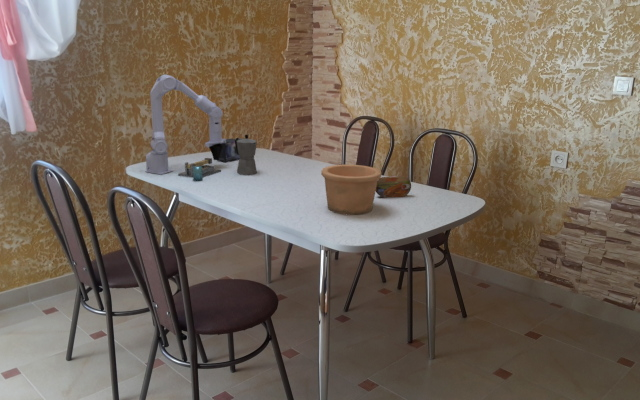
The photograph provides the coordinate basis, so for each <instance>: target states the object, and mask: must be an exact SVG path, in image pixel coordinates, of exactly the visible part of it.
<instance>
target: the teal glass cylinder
mask: <svg viewBox="0 0 640 400" xmlns="http://www.w3.org/2000/svg"><path fill="white" fill-rule="evenodd" d="M192 180H193V181H194V182H203V180H204V177H203V174H202V166H193V177H192Z"/></svg>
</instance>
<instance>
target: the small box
mask: <svg viewBox="0 0 640 400" xmlns="http://www.w3.org/2000/svg"><path fill="white" fill-rule="evenodd" d="M225 139H226V143H221V145H223V148H222V150H221V152H220V156H219V160H216V161H218V162H221V163H229V162H234V161H239V159H240V156H239V155H238V154H237V150H236V145H235V140H236V138H225Z"/></svg>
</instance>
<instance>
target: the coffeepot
mask: <svg viewBox="0 0 640 400" xmlns="http://www.w3.org/2000/svg"><path fill="white" fill-rule="evenodd" d="M244 137H245V138H241V137H236V138H235V139H236V140H235V145H236V150H237V154H238V155H239V156H240V159H239V160H238V164H237V170H236V173H237V175H241V176H254V175H256V174H257V173H258V171H257V164H256V160H255V156H256V151H257V144H258V141H257V140H255V139H252V138H249V134H244Z"/></svg>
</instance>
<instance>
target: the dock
mask: <svg viewBox="0 0 640 400" xmlns="http://www.w3.org/2000/svg"><path fill="white" fill-rule="evenodd" d="M194 163H195V162H192V163H190V164H191V169H188V168H187V165H189V162H187V161H186V162H184V171H182V172H179V173H178V176H180V177H186V178H193V166H194ZM201 166H202V174H203V178H206V177H209V176H212V175H214V174H218V173H220V172H222V170H221V169H217V168H215V166H214V165H210V164H208V165H207V164H204V165H201Z"/></svg>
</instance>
